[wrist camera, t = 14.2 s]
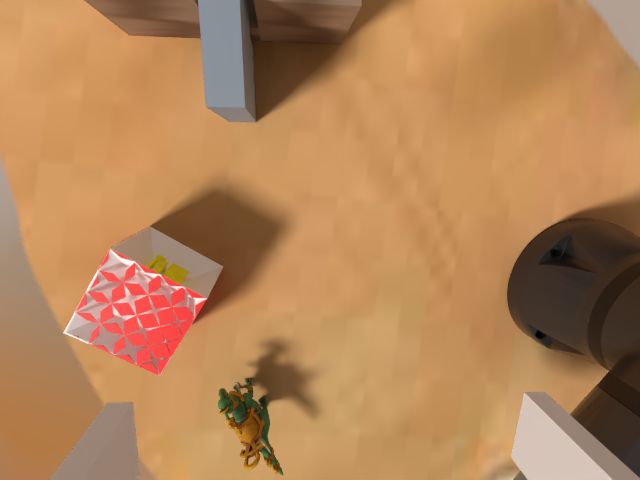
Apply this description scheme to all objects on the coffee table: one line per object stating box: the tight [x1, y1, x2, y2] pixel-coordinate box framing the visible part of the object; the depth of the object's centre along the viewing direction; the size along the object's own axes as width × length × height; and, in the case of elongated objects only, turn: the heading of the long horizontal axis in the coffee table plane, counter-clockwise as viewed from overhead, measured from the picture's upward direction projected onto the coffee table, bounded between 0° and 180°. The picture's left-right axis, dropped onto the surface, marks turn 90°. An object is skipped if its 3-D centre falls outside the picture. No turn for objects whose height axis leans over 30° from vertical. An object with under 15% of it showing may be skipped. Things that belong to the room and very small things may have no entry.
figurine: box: [218, 378, 283, 476], centre depth 34 cm, size 3×12×8 cm, turn 28°
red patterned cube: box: [64, 226, 224, 375], centre depth 30 cm, size 8×8×8 cm
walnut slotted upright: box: [85, 0, 362, 44], centre depth 25 cm, size 18×2×8 cm, turn 90°
